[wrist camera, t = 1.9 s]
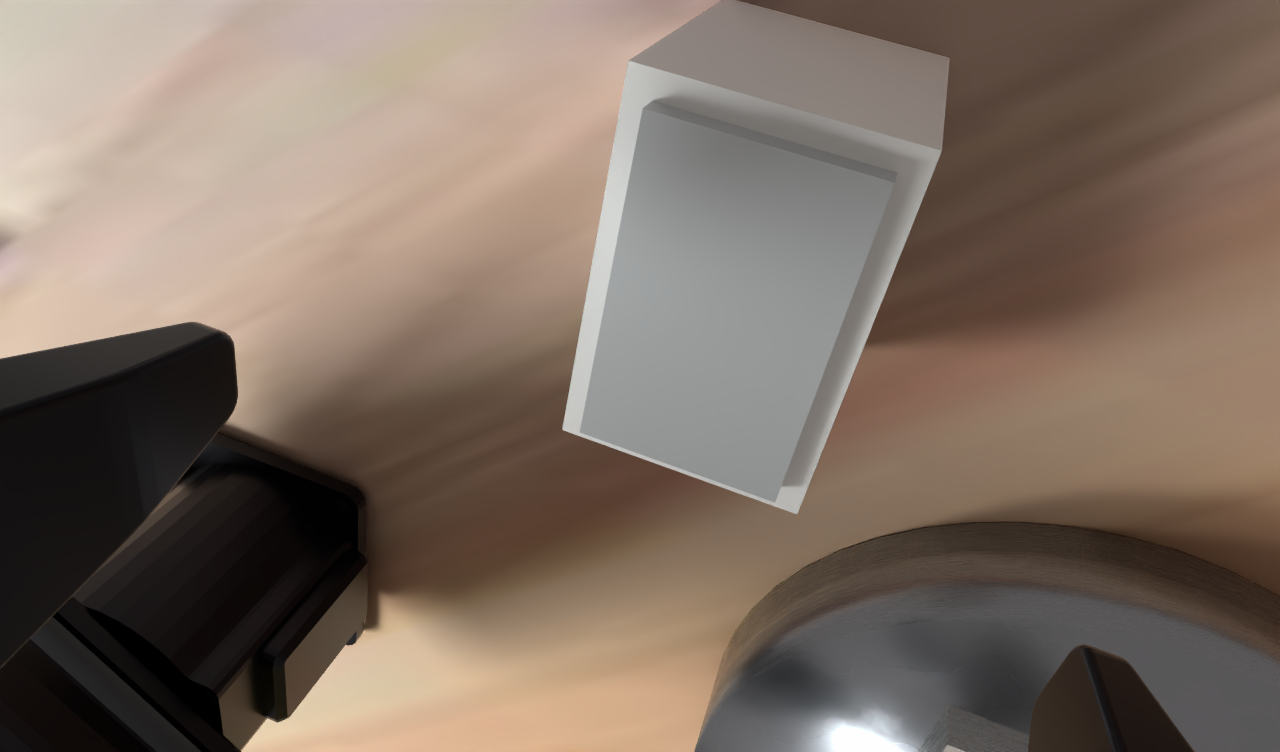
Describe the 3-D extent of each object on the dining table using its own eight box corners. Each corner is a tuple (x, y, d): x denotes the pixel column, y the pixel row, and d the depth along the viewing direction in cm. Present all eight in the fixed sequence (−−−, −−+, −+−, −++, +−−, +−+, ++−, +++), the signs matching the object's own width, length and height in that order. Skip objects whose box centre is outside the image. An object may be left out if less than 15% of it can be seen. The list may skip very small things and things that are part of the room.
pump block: (659, 288, 19) (553, 443, 14) (726, -3, 16) (618, 67, 11) (839, 347, 18) (793, 530, 14) (949, 57, 15) (940, 161, 10)
